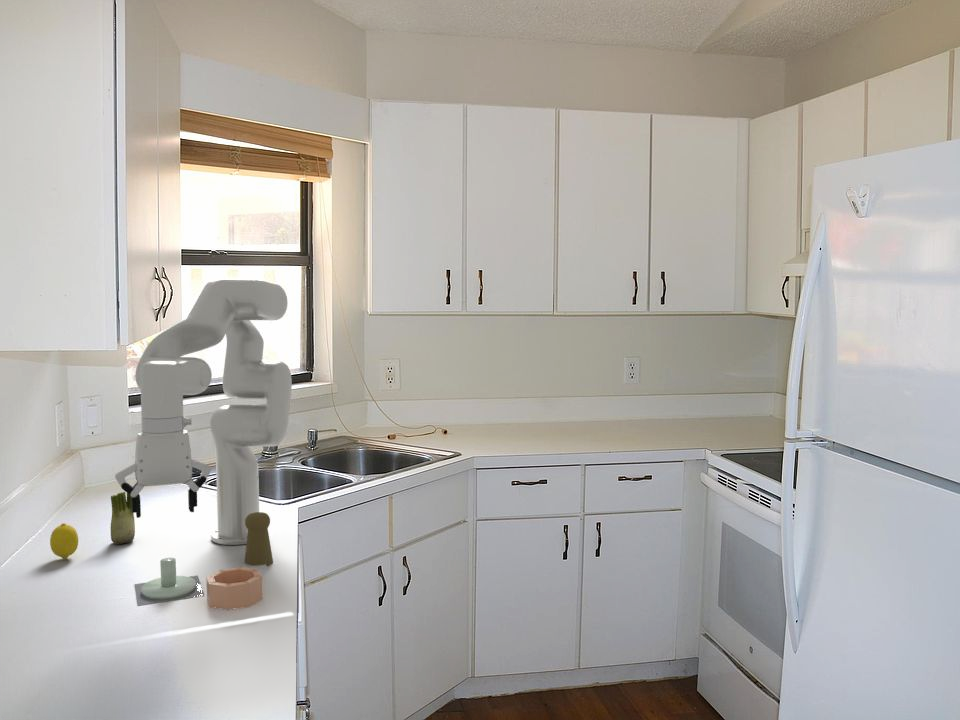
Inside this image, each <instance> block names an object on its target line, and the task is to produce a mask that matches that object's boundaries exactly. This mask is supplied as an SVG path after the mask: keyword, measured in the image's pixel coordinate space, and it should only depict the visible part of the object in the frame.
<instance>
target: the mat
mask: <svg viewBox="0 0 960 720" xmlns="http://www.w3.org/2000/svg"><path fill="white" fill-rule="evenodd" d="M189 577H191V578H193V579H194V580H195V581H196V585H197V583H198V584H199V583H200V584H201V581H200V578H199V576H198V575H191V576H190V575H189ZM145 583H146V582H141V583H135V584H134V590H135V596H136V598H135V599H136V604H137V605H136V606H137V607H141V606H147V605H154V604H161V603H168V602H173V601H174V602H175V601H180V600H187V599H188V600H189V599H194V598H193V597H194V596H195V598H200V597H199V595H200V594H203V596H202V597H205V596H204V595H205V592H204V589H203V586H202V587H201V588H202V589H203V590H202V593H201V590H200V592H199V591H197V589H198V588H197V586H198V585H197V586H196V589H195V590H194V591H193V592H191V593H189V594H187V595H185V596H182V597H178V598H173V599H164V600H156V599H148V598H145V597H144V596H142V593H141V587H142V586H143V585H144V584H145ZM201 585H202V584H201ZM197 595H198V597H197ZM200 596H201V595H200Z"/></svg>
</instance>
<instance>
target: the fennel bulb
mask: <svg viewBox="0 0 960 720" xmlns="http://www.w3.org/2000/svg"><path fill="white" fill-rule="evenodd" d="M110 501H111V518H110V519H111V520H110V540H111V542H112V543H114V544H116V545H123V544H126V543H130V542H133V540H134V539H135V534H136V526H135V525H136V523H135V515H134V514H135V513H132V497H131V495H129V494H128V493H127V492H126V491H121V492H117V494H113V495H112V494H111V495H110Z"/></svg>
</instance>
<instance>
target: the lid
mask: <svg viewBox="0 0 960 720" xmlns="http://www.w3.org/2000/svg"><path fill="white" fill-rule="evenodd" d="M176 561H177V560H176V558H175V557H164V558H162V559H161V560H160V561H159V563H160V577H158V578H154V579H151V580H149V581H147V582H144V583H145V584H144V585H143V586H142V587H141V593H142V596H144V597H145V598H148V599H156V600H164V599H173V598H178V597H182V596H185V595H187V594H189V593H191V592H193V591H194V590H195V589H196V581H195V580H194V579H193V578H191V577H190V576H183V575H177V567H176V566H177V565H176V564H177V563H176Z"/></svg>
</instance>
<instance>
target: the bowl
mask: <svg viewBox="0 0 960 720" xmlns="http://www.w3.org/2000/svg"><path fill="white" fill-rule="evenodd" d="M206 600H207V603H208V602H209V603H208V606H209V605H210V606H209V607H210V608H212V607H216V608H215V609H218V608H222V609H221V610H224V609H232V610H234V609H233V608H238V609H243V607H244V608H249V607H250V608H251V606H253V605H254V604H257V603H258V602H260V601H261V600H263V575H262V574H261V572H260V571H259V569H256V568H250V567H243V566H240V567H232V568H224V569H219V570H217V571H215V572H213V573H211V574H209V575H207V576H206ZM241 607H242V608H241Z"/></svg>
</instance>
